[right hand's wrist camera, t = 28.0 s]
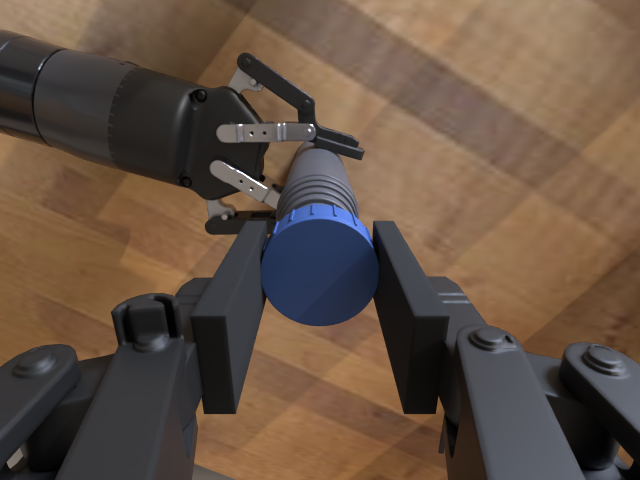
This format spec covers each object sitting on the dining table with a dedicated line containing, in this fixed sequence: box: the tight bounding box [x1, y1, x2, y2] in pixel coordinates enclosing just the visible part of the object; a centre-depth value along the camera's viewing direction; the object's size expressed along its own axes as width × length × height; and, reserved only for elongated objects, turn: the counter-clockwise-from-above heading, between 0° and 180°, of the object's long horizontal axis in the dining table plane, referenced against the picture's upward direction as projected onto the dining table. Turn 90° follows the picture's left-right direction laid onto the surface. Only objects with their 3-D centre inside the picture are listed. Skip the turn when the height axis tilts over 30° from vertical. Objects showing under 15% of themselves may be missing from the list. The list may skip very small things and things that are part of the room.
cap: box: [261, 203, 379, 326], centre depth 14 cm, size 4×4×2 cm
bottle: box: [276, 141, 359, 222], centre depth 25 cm, size 4×4×23 cm
